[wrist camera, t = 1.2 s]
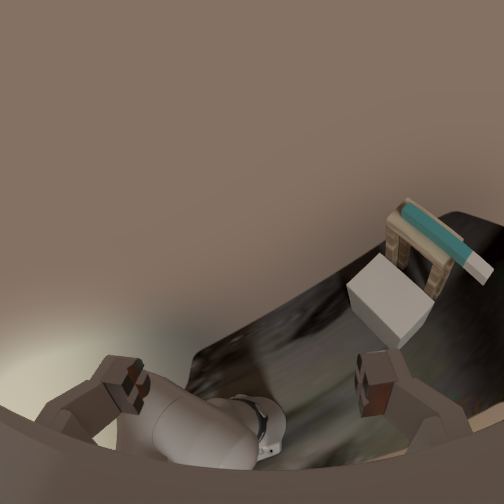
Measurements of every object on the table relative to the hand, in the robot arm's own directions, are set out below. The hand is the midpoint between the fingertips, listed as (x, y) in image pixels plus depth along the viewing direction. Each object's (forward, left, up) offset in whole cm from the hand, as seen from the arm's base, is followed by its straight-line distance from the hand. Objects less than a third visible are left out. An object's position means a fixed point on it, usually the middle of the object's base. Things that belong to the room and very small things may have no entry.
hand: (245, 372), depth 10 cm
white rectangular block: (+20, +10, -62) cm, 66 cm away
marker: (+31, +6, -36) cm, 48 cm away
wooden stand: (+31, +11, -62) cm, 70 cm away
